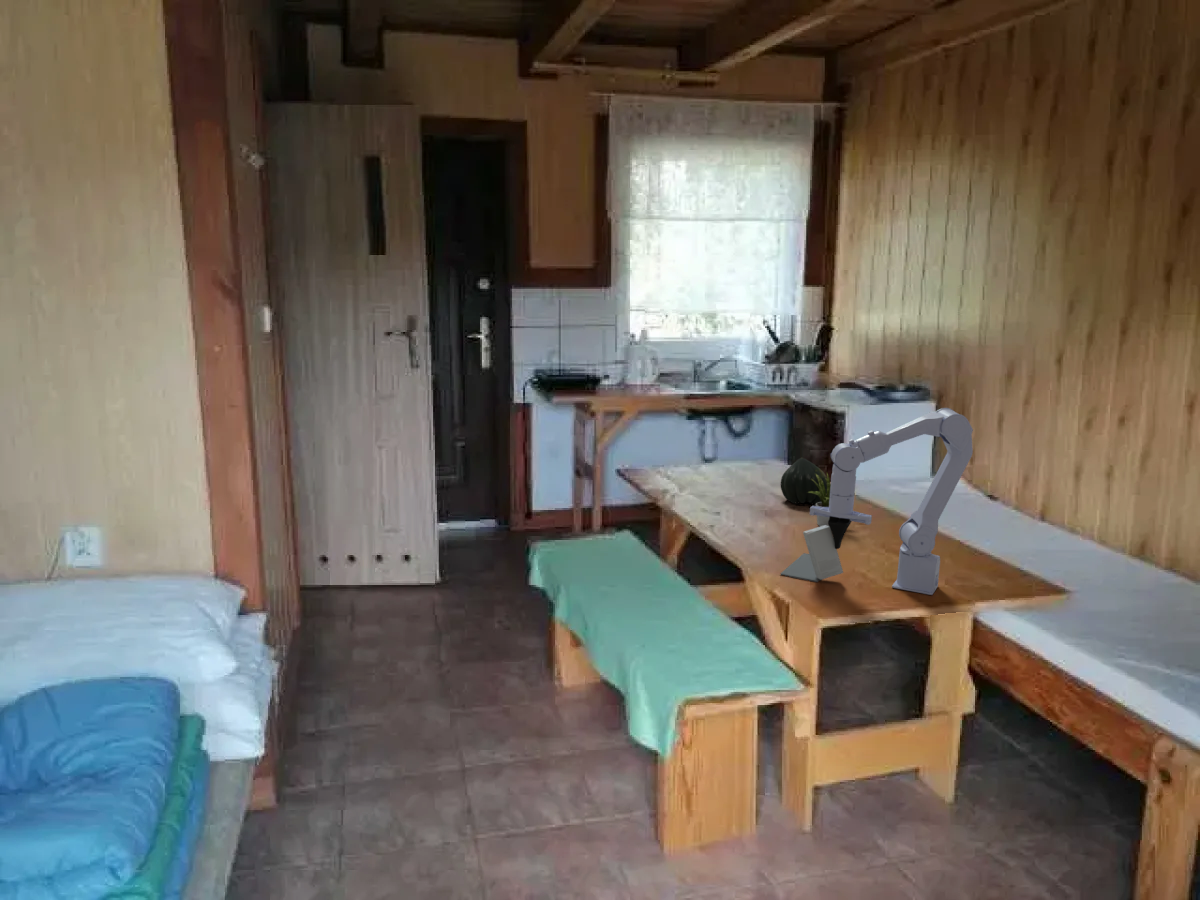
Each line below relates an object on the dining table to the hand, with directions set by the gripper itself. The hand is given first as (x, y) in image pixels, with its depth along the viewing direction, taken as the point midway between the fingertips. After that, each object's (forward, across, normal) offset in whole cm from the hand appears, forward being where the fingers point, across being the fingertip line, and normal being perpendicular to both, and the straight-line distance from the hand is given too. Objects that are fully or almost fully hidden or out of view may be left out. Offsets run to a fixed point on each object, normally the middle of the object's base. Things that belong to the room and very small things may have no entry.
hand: (837, 547), depth 227 cm
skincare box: (+8, +1, 0) cm, 8 cm away
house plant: (+9, +15, -48) cm, 51 cm away
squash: (+9, +30, -71) cm, 78 cm away
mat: (+9, +8, -8) cm, 15 cm away
